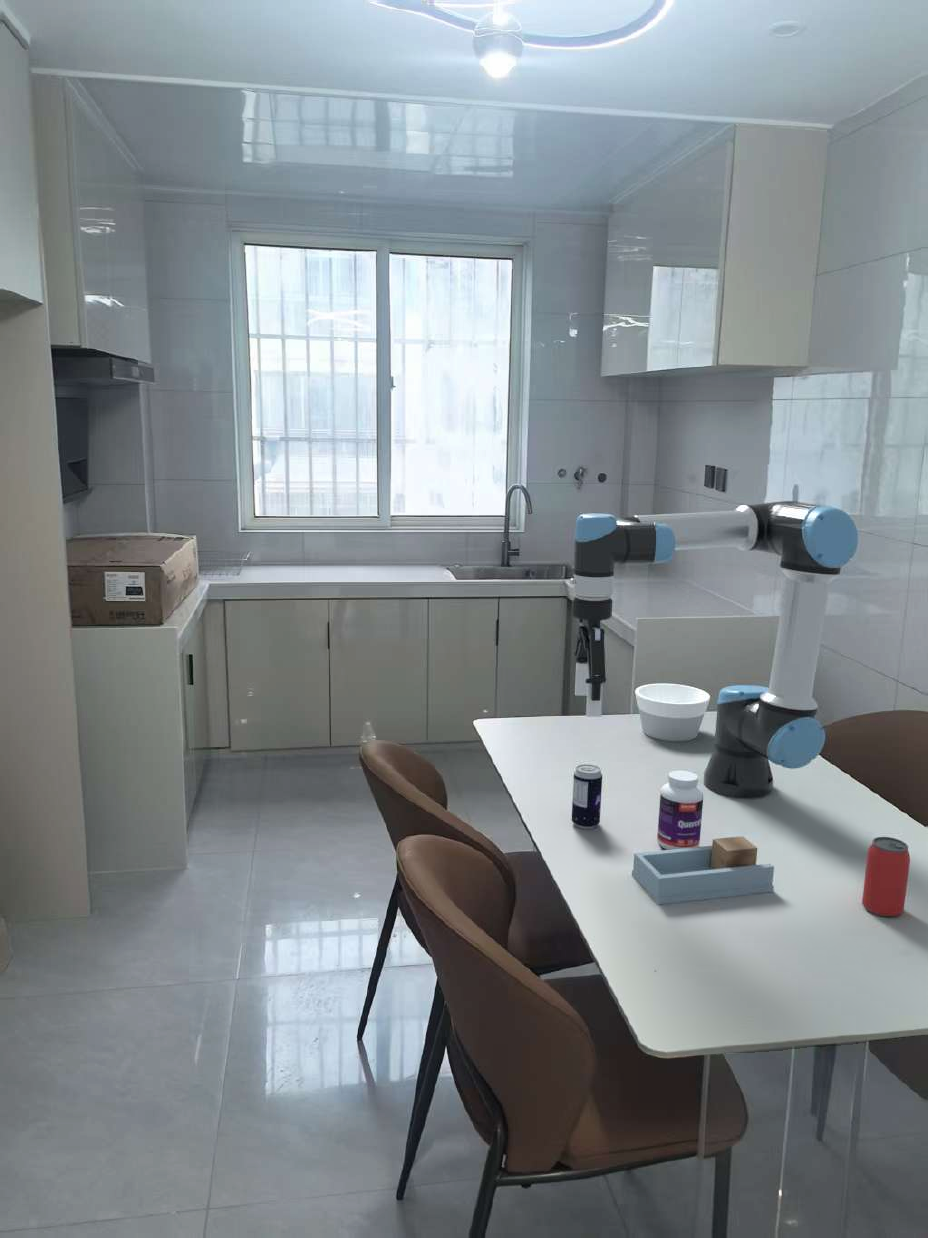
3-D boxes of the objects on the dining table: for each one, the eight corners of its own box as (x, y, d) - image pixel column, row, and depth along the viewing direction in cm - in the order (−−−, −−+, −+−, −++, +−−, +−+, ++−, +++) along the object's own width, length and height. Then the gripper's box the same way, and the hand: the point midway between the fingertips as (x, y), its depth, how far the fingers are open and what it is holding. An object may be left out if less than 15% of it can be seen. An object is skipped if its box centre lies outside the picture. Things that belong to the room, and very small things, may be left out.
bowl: (632, 741, 249) (635, 701, 246) (632, 718, 267) (635, 681, 265) (709, 747, 246) (713, 706, 243) (704, 724, 264) (707, 685, 262)
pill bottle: (677, 858, 183) (682, 786, 180) (648, 842, 189) (652, 772, 186) (708, 849, 187) (714, 778, 184) (678, 834, 194) (683, 765, 191)
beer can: (900, 922, 161) (908, 855, 159) (858, 911, 165) (865, 845, 162) (906, 906, 167) (914, 841, 164) (865, 895, 170) (872, 832, 168)
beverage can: (598, 831, 194) (601, 775, 191) (570, 828, 195) (572, 772, 192) (600, 820, 199) (603, 765, 197) (572, 817, 200) (575, 762, 198)
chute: (740, 863, 181) (742, 841, 180) (773, 891, 171) (775, 867, 170) (631, 875, 176) (633, 852, 175) (658, 904, 165) (660, 880, 164)
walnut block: (739, 866, 178) (742, 836, 176) (754, 879, 173) (757, 847, 172) (710, 869, 176) (712, 839, 175) (724, 882, 171) (726, 851, 170)
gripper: (563, 584, 195) (559, 687, 199) (583, 609, 170) (578, 725, 175) (600, 585, 195) (595, 687, 199) (626, 610, 171) (619, 725, 175)
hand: (587, 705), depth 187 cm, fingers open, 13 cm apart
